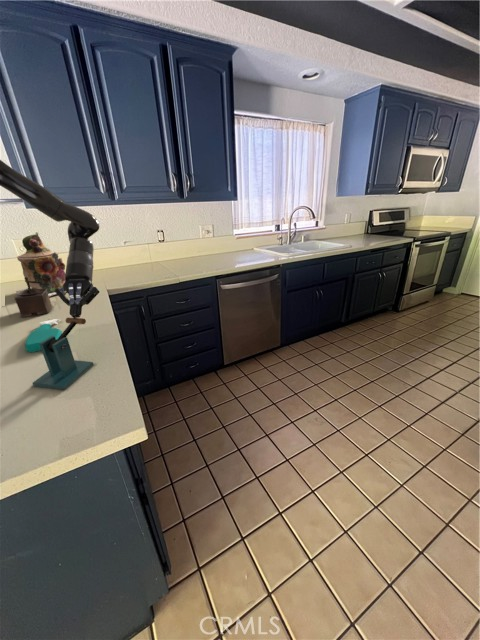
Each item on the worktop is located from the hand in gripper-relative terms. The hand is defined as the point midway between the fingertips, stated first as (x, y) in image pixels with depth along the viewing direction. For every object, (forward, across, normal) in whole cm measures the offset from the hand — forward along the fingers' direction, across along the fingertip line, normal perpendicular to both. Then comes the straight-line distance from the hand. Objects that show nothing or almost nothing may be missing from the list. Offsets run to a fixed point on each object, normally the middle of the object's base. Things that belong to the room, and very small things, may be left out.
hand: (75, 316), depth 81 cm
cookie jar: (-45, -47, +66) cm, 93 cm away
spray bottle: (-3, -21, +24) cm, 32 cm away
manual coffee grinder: (-22, -35, +44) cm, 60 cm away
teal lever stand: (+17, -3, +4) cm, 18 cm away
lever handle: (+6, -2, 0) cm, 6 cm away
